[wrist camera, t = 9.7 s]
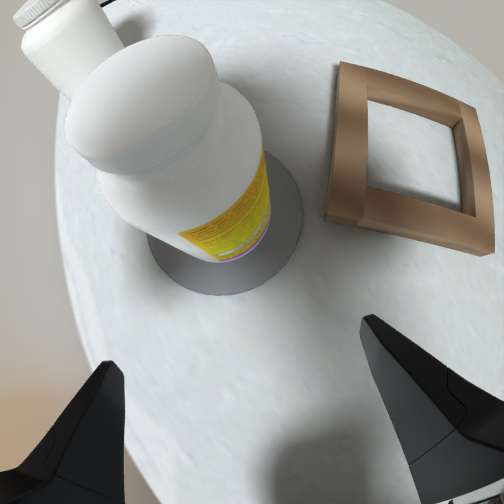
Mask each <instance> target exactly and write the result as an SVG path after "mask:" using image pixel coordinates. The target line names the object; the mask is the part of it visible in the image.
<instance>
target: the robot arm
mask: <svg viewBox="0 0 504 504" xmlns="http://www.w3.org/2000/svg"><path fill="white" fill-rule="evenodd" d="M360 338H361V341H362V344H363V348H364V351H365V354H366V357H367V360H368V364H369V367H370V370H371V373H372V376H373V378H374V381H375V383H376V385H377V388H378V390H379V392H380V395H381V397H382V399H383V402H384V404H385V406H386V409H387V411H388V414H389V416H390V419H391V421H392V424H393V426H394V429H395V431H396V434H397V436H398V439H399V441H400V444H401V447H402V449H403V452H404V455H405V457H406V460H407V463H408V465H409V469H410V471H411V474H412V477H413V480H414V483H415V486H416V489H417V492H418V495H419V498H420V501H421V504H436V503H440V502H443V501H446V500H450V499H452V500H451V501H449V503H448V504H504V401H502V400H500V399H498V398H496V397H495V396H493V395H491V394H489V393H488V392H486V391H484V390H482V389H481V388H479V387H477V386H475V385H474V384H472V383H470V382H469V381H467V380H466V379H464V378H463V377H461V376H460V375H458V374H457V373H455V372H454V371H453V370H451V369H450V368H447V366H446V365H444V364H443V363H442V362H440V361H439V360H437V359H436V358H435V357H433V356H432V355H431V354H429V353H428V352H426V351H425V350H424V349H422V348H421V347H419V346H418V345H417V344H415V343H414V342H412V341H411V340H410V339H408V338H407V337H405V336H404V335H403V334H401V333H400V332H398V331H397V330H396V329H394V328H393V327H391V326H390V325H389V324H387V323H386V322H384V321H383V320H381V319H380V318H379V317H377V316H376V315H374V314H371V315H367V316H364V317H363V318H362V321H361V327H360ZM124 427H125V391H124V375H123V372H122V371H121V370H120V369H119V368H118V366H117V365H116V364H115V363H114V362H113V361H111V360H109V361H102V362H101V363H100V365H99V366H98V367H97V368H96V370H95V371H94V372H93V373H92V375H91V376H90V377H89V379H88V380H87V381H86V382H85V384H84V385H83V386H82V387H81V389H80V390H79V391H78V393H77V394H76V395H75V396H74V398H73V399H72V400H71V402H70V403H69V404H68V406H67V407H66V408H65V410H64V411H63V412H62V414H61V415H60V416H59V418H58V419H57V420H56V422H55V423H54V425H53V426H52V427H51V428H50V430H49V431H48V432H47V434H46V435H45V436H44V438H43V439H42V440H41V442H40V443H39V444H38V445H37V446H36V448H35V449H34V450H33V451H32V452H31V453H30V454H29V456H28V457H27V458H26V459H25V460H24V461H23V462H22V464H20V465H19V466H18V467H16V468H14V469H11V470H7V471H3V472H0V504H125V494H124Z"/></svg>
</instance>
